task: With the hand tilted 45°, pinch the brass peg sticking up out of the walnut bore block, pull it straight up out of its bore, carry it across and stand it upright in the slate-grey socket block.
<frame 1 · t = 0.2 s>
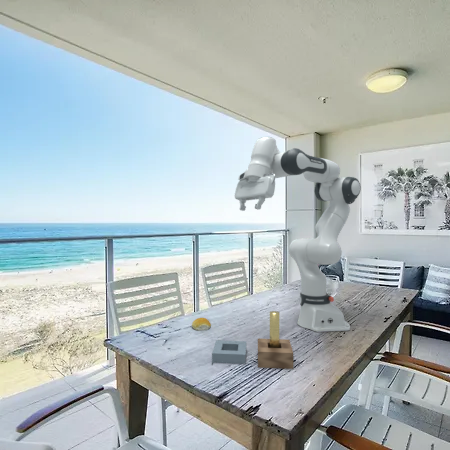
hand: (249, 209, 120), 52 cm above the table, fingers open, 8 cm apart
brass peg: (274, 360, 104), point 1 cm above the table, touching walnut bore block
slate socket block: (229, 358, 108), on the table
bread roll: (201, 328, 139), on the table
walnut bore block: (274, 363, 104), on the table
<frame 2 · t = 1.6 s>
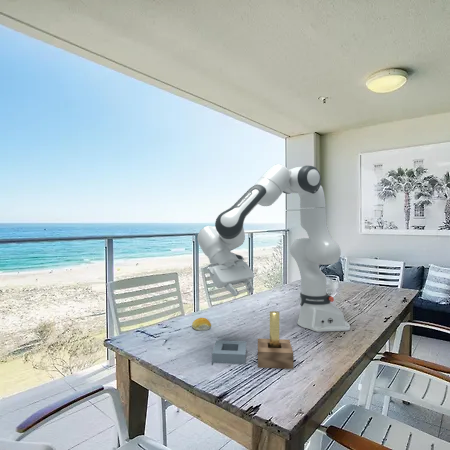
hand: (244, 293, 112), 22 cm above the table, fingers open, 8 cm apart
nothing on the table moved.
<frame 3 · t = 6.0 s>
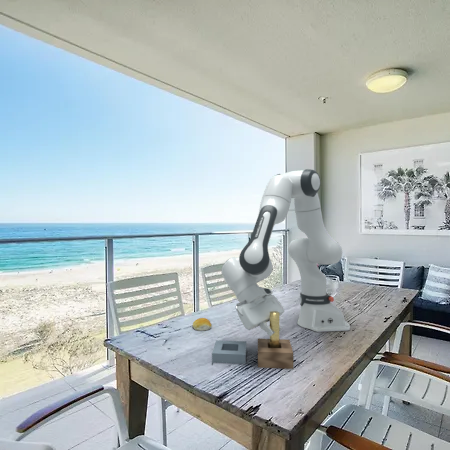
hand: (276, 332, 104), 10 cm above the table, fingers closed on brass peg, 3 cm apart
brass peg: (274, 360, 104), point 1 cm above the table, touching gripper, walnut bore block
everything else where it was.
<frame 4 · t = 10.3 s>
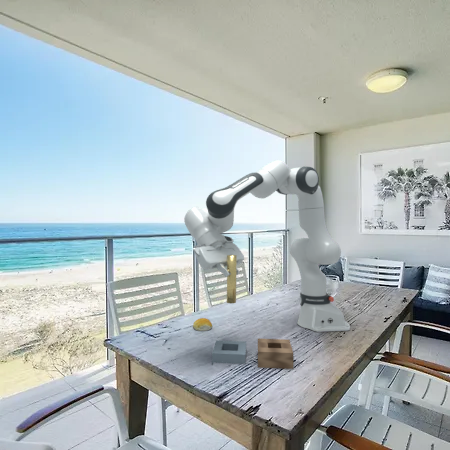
hand: (233, 274, 107), 29 cm above the table, fingers closed on brass peg, 3 cm apart
brass peg: (231, 302, 107), point 20 cm above the table, touching gripper
everything else where it was.
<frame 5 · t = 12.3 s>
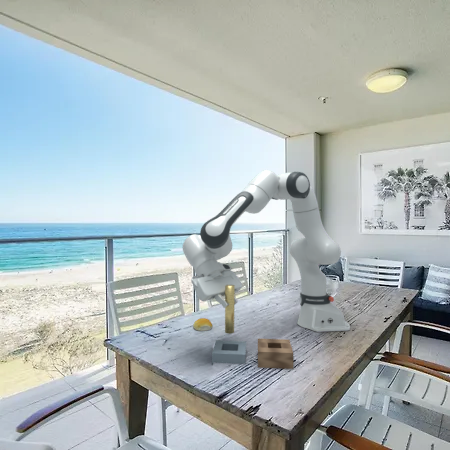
hand: (231, 305, 107), 19 cm above the table, fingers closed on brass peg, 3 cm apart
brass peg: (229, 332, 108), point 9 cm above the table, touching gripper
everything else where it was.
when the fingers open (11 cm above the table, at t = 14.4 s): brass peg drops 2 cm, resting in slate socket block.
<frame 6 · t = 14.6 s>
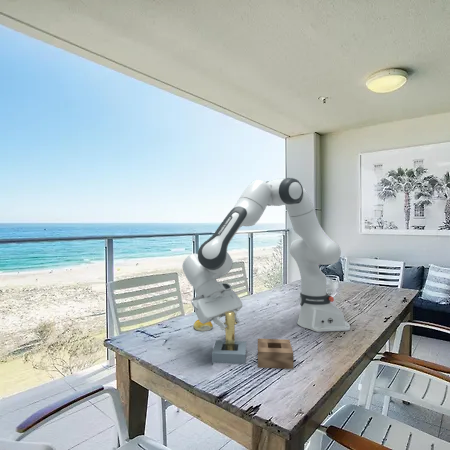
hand: (231, 326, 107), 11 cm above the table, fingers open, 5 cm apart
brass peg: (230, 358, 108), resting in slate socket block
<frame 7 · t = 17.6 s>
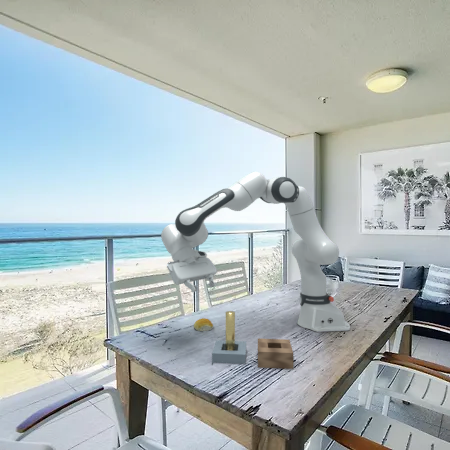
hand: (204, 288, 116), 22 cm above the table, fingers open, 8 cm apart
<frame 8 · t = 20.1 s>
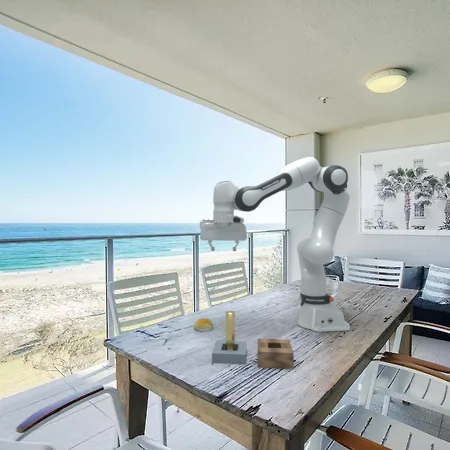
hand: (223, 251, 136), 34 cm above the table, fingers open, 8 cm apart
at the end: brass peg 0.1 cm off-centre on the slate socket block, point 0.0 cm above the slate socket block's base; brass peg tilted 0°; the gripper is holding nothing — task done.
